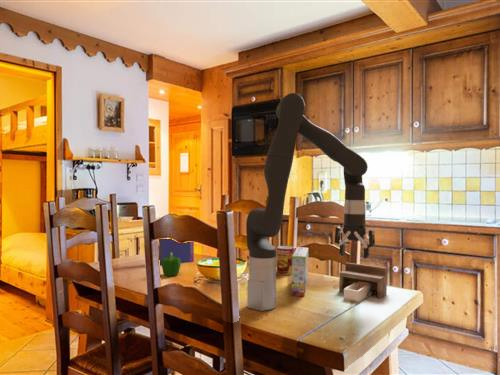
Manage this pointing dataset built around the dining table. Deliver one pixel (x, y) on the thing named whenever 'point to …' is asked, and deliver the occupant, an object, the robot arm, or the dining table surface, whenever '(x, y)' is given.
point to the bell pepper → (171, 265)
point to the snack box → (299, 271)
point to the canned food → (284, 259)
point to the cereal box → (176, 250)
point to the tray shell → (357, 291)
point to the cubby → (364, 277)
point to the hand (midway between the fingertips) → (354, 256)
